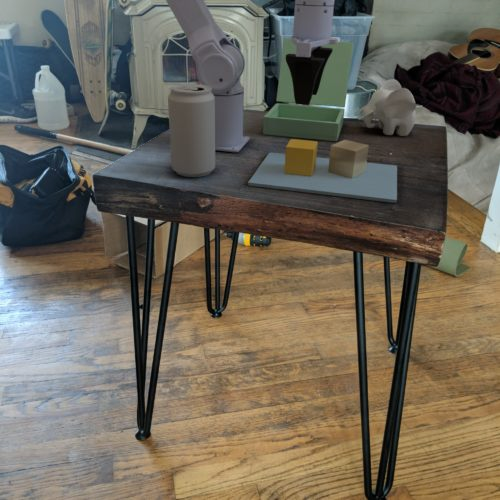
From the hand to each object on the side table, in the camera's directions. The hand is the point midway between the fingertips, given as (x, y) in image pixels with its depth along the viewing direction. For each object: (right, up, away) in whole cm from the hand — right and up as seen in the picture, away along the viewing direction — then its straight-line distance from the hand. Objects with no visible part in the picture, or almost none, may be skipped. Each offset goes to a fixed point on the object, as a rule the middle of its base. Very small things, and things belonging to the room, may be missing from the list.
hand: (306, 99), depth 82 cm
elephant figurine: (+17, -2, +15) cm, 23 cm away
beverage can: (-17, -13, -7) cm, 23 cm away
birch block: (+5, -13, -7) cm, 15 cm away
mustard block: (-2, -12, -7) cm, 14 cm away
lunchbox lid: (+3, +10, +17) cm, 20 cm away
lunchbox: (+1, -1, +15) cm, 15 cm away
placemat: (+2, -13, -7) cm, 15 cm away
